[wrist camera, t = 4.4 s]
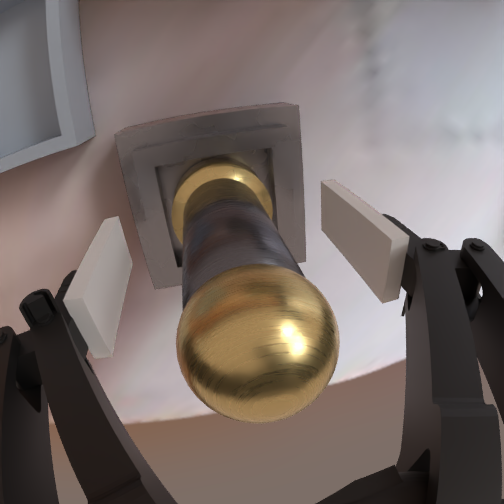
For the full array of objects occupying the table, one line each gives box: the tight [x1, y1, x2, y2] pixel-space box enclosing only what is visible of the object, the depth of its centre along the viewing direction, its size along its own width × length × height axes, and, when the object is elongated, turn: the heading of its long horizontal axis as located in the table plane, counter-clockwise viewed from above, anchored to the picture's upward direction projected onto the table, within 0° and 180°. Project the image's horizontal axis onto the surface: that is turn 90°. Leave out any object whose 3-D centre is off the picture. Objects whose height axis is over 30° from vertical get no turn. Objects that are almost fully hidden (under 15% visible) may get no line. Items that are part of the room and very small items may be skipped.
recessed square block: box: [114, 103, 306, 289], centre depth 19 cm, size 10×10×4 cm
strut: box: [172, 158, 340, 423], centre depth 12 cm, size 5×5×13 cm
